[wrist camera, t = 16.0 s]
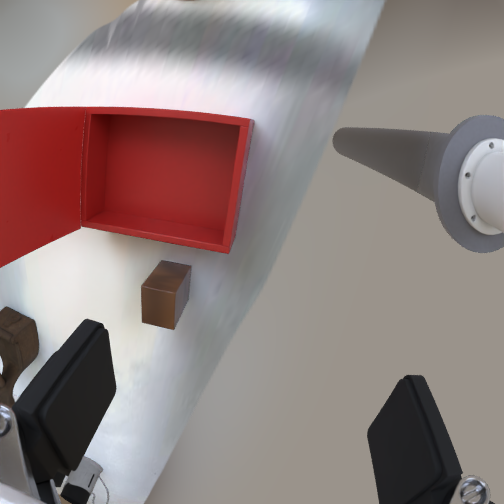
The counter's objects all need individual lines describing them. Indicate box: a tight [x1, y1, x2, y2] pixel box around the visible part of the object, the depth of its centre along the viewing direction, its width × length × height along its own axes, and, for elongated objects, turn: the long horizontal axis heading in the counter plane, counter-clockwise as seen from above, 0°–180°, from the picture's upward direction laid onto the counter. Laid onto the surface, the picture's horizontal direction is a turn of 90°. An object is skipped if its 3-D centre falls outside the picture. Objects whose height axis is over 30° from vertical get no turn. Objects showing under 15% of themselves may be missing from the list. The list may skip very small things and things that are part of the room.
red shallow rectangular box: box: [81, 107, 254, 254], centre depth 32 cm, size 18×14×5 cm
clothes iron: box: [0, 307, 39, 408], centre depth 43 cm, size 8×16×13 cm, turn 166°
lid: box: [0, 107, 86, 268], centre depth 22 cm, size 18×14×5 cm
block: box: [141, 260, 191, 330], centre depth 37 cm, size 4×5×7 cm
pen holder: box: [53, 471, 65, 487], centre depth 66 cm, size 9×9×10 cm
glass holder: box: [61, 456, 109, 504], centre depth 60 cm, size 9×14×15 cm, turn 86°
